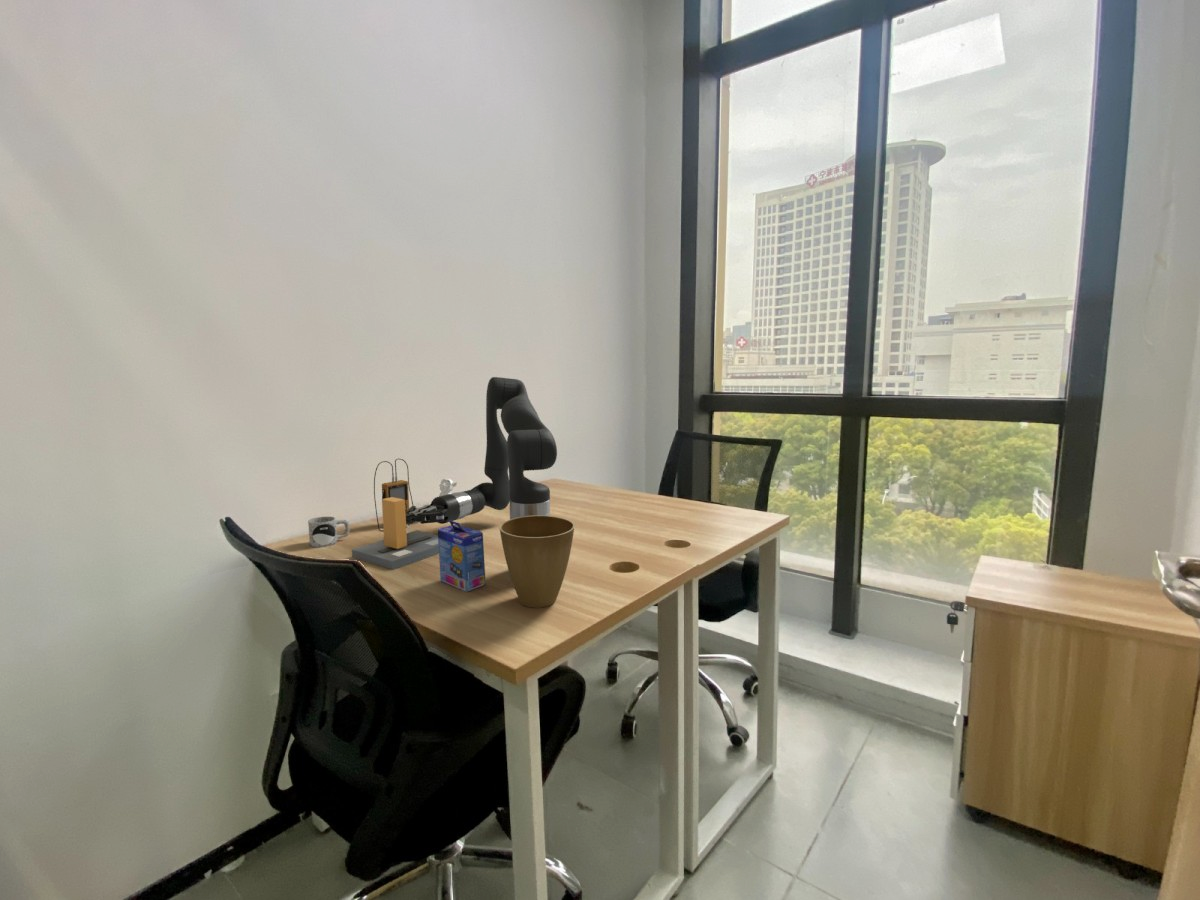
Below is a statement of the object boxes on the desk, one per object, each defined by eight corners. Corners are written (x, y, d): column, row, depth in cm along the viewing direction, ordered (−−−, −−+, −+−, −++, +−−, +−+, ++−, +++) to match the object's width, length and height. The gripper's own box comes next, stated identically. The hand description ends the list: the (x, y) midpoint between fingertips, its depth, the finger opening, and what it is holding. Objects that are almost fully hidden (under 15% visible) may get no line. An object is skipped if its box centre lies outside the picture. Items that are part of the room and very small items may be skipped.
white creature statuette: (425, 516, 178) (423, 480, 176) (440, 510, 186) (439, 475, 185) (450, 519, 175) (449, 482, 173) (465, 512, 183) (464, 476, 182)
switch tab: (407, 545, 141) (404, 499, 140) (397, 548, 139) (394, 501, 137) (394, 542, 144) (392, 497, 142) (384, 545, 142) (381, 499, 140)
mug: (312, 549, 147) (310, 524, 146) (307, 542, 152) (306, 519, 151) (352, 542, 152) (351, 518, 152) (347, 536, 158) (345, 513, 157)
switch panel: (457, 546, 148) (456, 538, 148) (392, 569, 132) (392, 560, 131) (417, 537, 157) (416, 529, 157) (352, 557, 140) (351, 548, 140)
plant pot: (486, 604, 112) (483, 527, 110) (534, 581, 124) (533, 511, 122) (543, 623, 104) (542, 541, 102) (589, 596, 116) (588, 522, 114)
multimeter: (391, 535, 159) (387, 465, 156) (372, 529, 165) (368, 462, 162) (435, 523, 170) (432, 459, 167) (415, 518, 176) (412, 455, 173)
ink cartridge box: (438, 581, 124) (435, 518, 122) (458, 574, 129) (456, 513, 126) (465, 593, 118) (463, 526, 116) (486, 585, 122) (484, 521, 120)
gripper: (435, 491, 159) (382, 503, 145) (468, 497, 152) (416, 510, 138) (436, 516, 160) (384, 531, 146) (469, 523, 153) (417, 540, 139)
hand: (399, 521), depth 142 cm, fingers closed
